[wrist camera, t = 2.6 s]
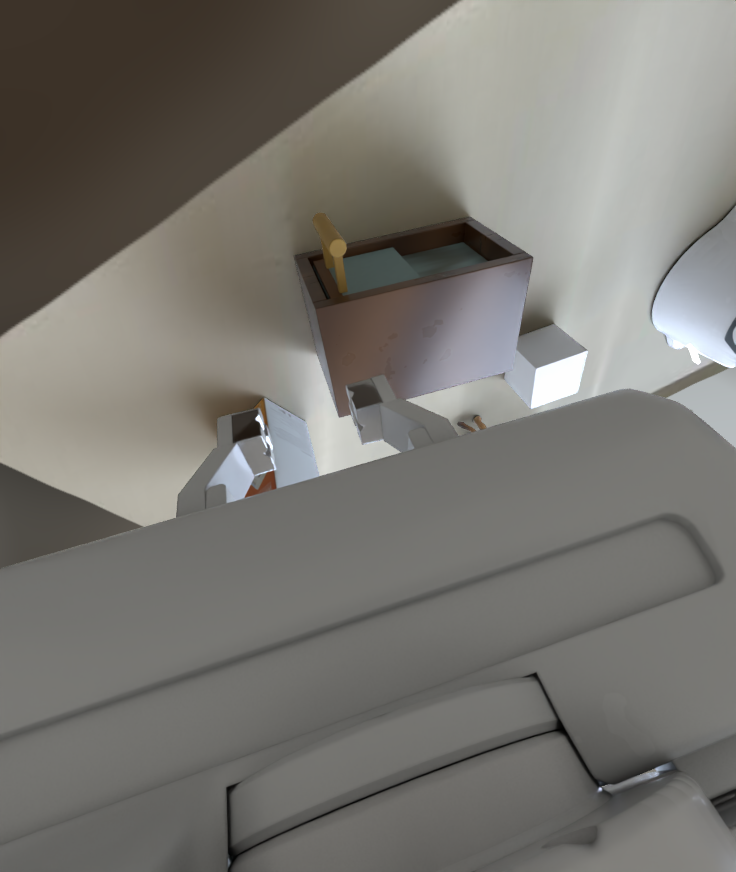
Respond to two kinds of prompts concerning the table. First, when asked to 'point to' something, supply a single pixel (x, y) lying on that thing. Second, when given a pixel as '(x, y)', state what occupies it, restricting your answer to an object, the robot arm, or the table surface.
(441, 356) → the cabinet
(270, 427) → the small box
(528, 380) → the white cube
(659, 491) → the robot arm
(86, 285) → the table surface
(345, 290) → the handled teal slab
